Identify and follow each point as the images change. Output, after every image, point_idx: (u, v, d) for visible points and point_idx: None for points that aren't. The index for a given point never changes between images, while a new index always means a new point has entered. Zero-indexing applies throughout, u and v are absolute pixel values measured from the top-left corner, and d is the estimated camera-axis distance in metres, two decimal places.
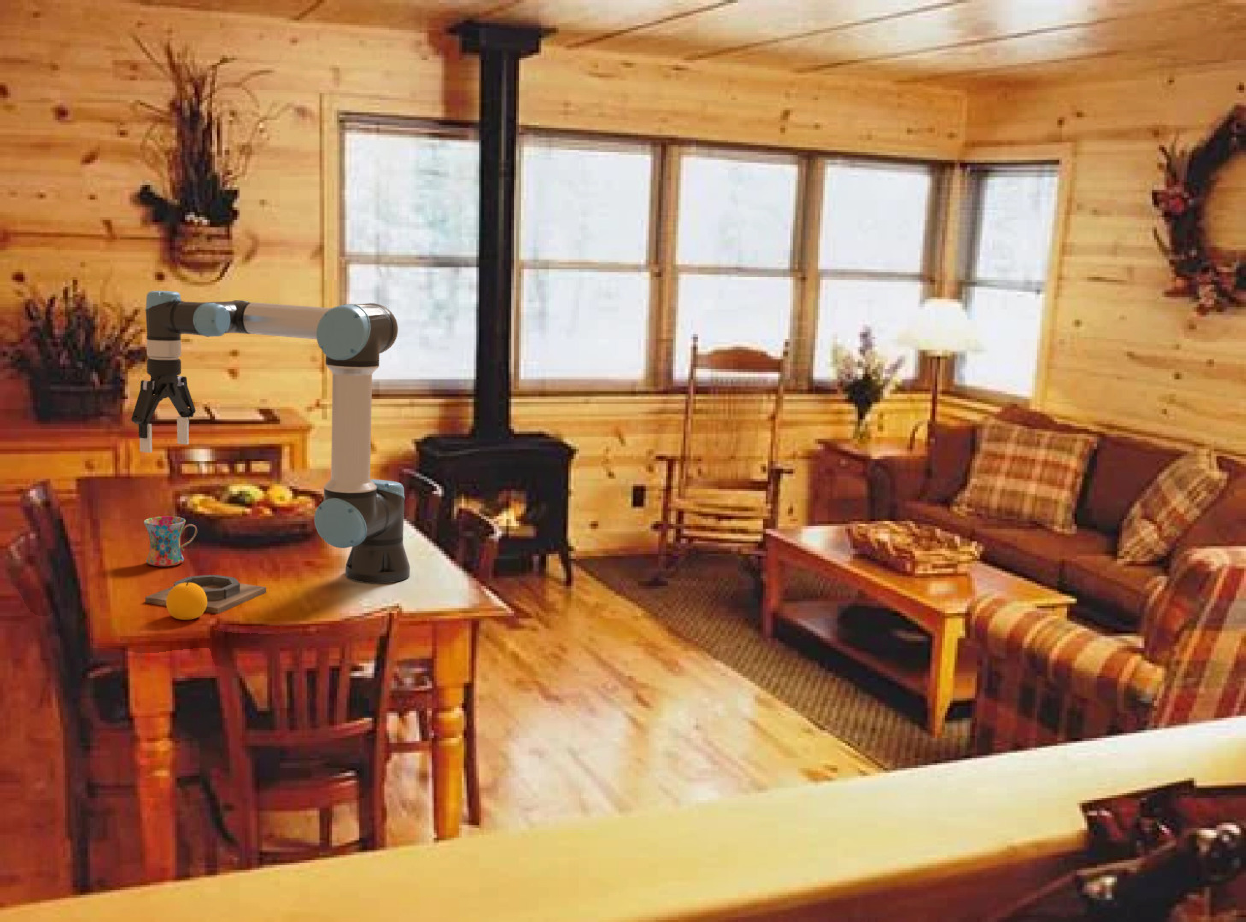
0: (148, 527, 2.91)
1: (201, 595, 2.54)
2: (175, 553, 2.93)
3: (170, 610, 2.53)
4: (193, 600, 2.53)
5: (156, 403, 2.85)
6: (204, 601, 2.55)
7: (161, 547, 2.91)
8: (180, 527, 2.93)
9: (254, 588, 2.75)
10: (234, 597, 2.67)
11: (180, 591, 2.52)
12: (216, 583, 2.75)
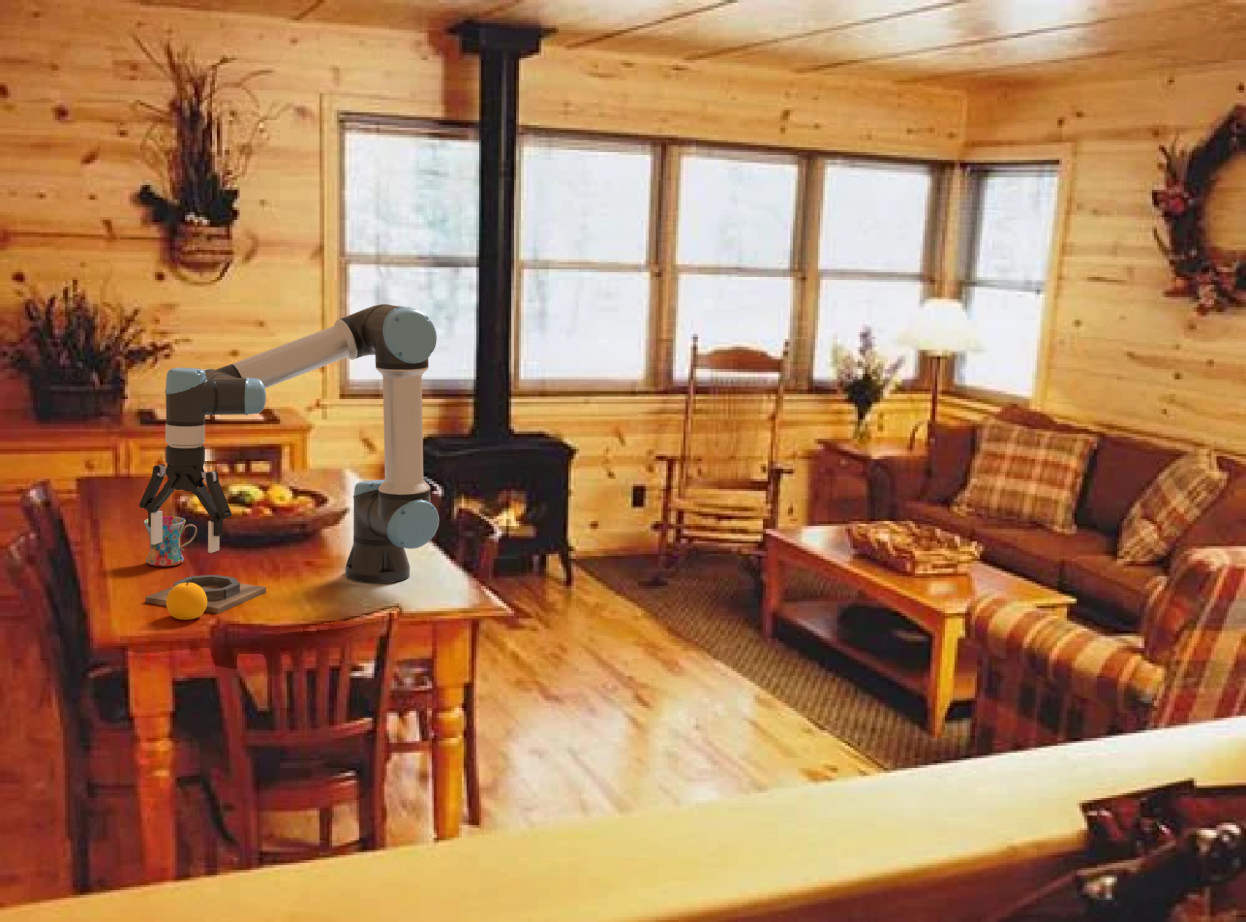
0: (148, 527, 2.91)
1: (201, 595, 2.54)
2: (175, 553, 2.93)
3: (170, 610, 2.53)
4: (193, 600, 2.53)
5: (162, 492, 2.52)
6: (204, 601, 2.55)
7: (161, 547, 2.91)
8: (180, 527, 2.93)
9: (254, 588, 2.75)
10: (234, 597, 2.67)
11: (180, 592, 2.52)
12: (216, 583, 2.75)
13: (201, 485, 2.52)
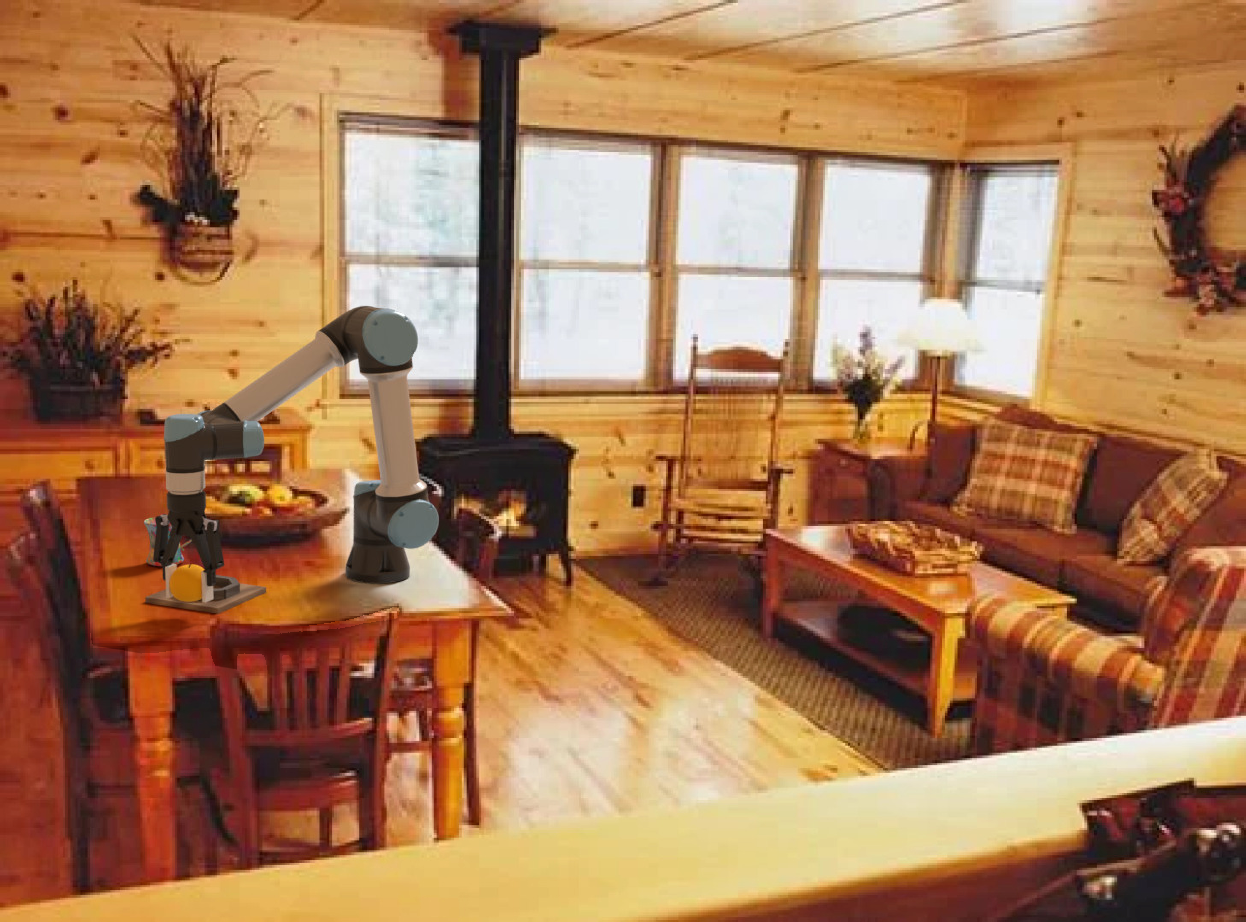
0: (148, 527, 2.91)
1: None
2: None
3: (173, 592, 2.53)
4: (196, 581, 2.52)
5: (170, 542, 2.53)
6: None
7: None
8: None
9: (254, 588, 2.75)
10: (234, 597, 2.67)
11: (183, 574, 2.52)
12: (216, 583, 2.75)
13: (201, 531, 2.54)
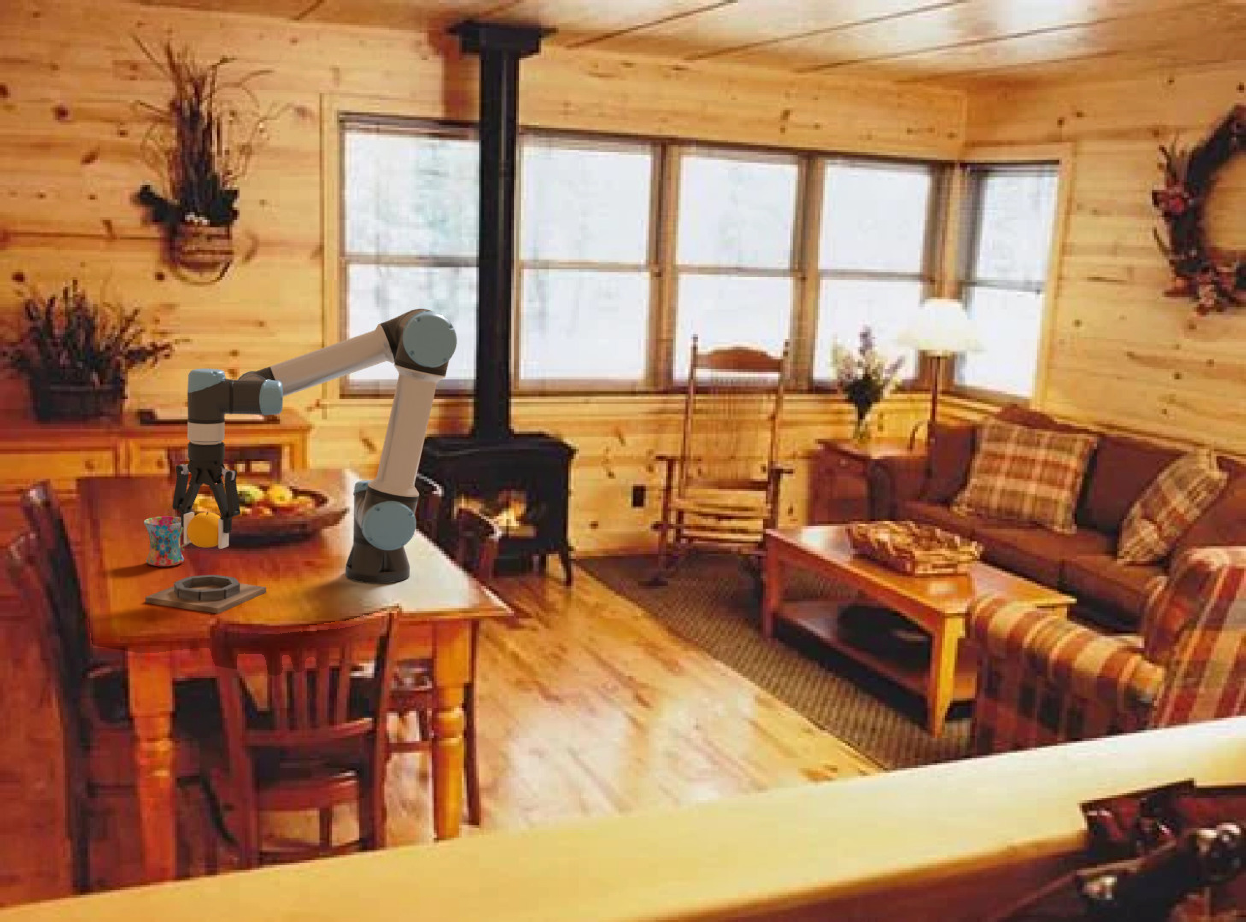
0: (148, 527, 2.91)
1: None
2: (175, 553, 2.93)
3: (191, 538, 2.66)
4: (213, 528, 2.65)
5: (190, 490, 2.66)
6: None
7: (161, 547, 2.91)
8: (180, 527, 2.93)
9: (254, 588, 2.75)
10: (234, 597, 2.67)
11: (201, 520, 2.65)
12: (216, 583, 2.75)
13: (219, 481, 2.67)
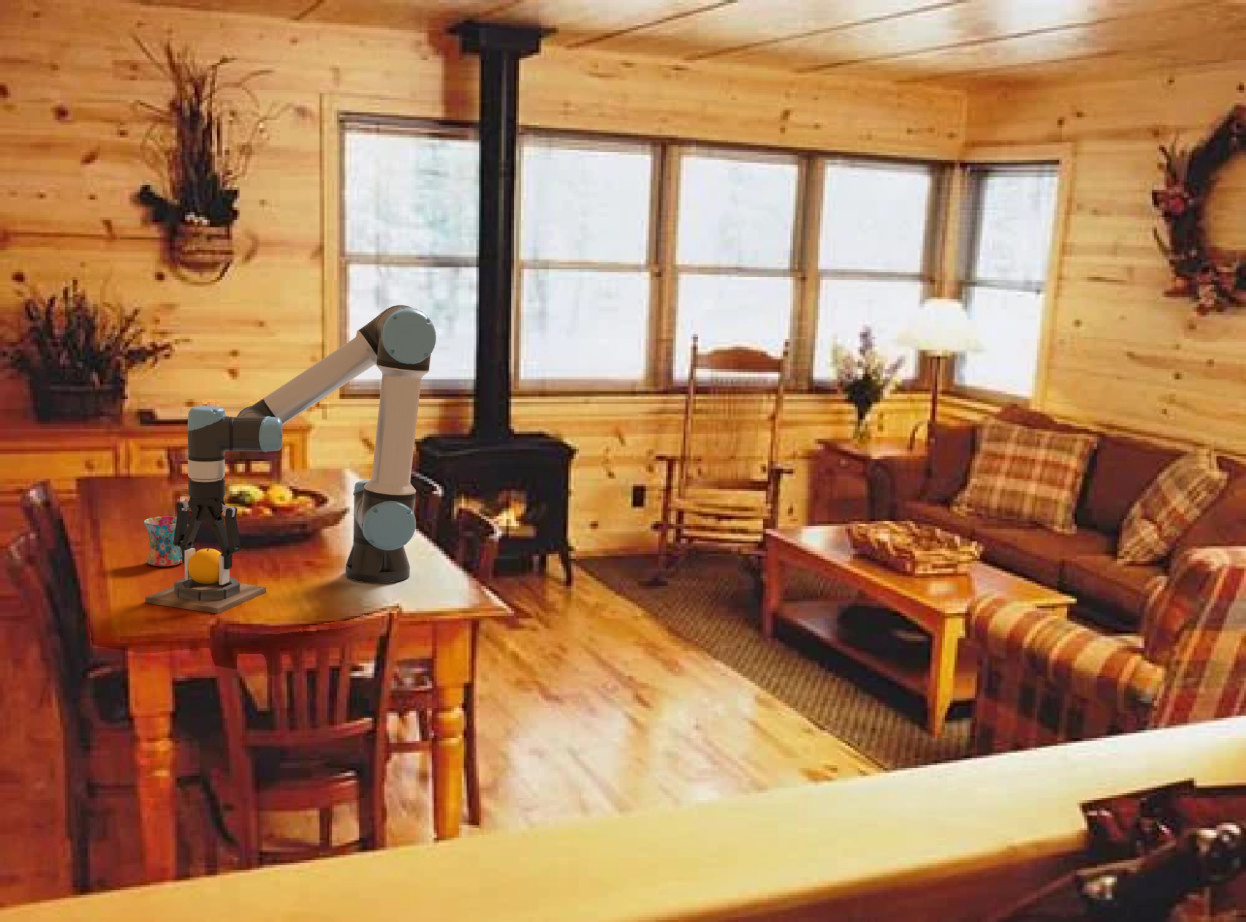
0: (148, 527, 2.91)
1: None
2: (175, 553, 2.93)
3: (192, 574, 2.67)
4: (214, 564, 2.67)
5: (190, 527, 2.68)
6: None
7: (161, 547, 2.91)
8: None
9: (254, 588, 2.75)
10: (234, 597, 2.67)
11: (202, 557, 2.67)
12: (216, 583, 2.75)
13: (219, 517, 2.68)
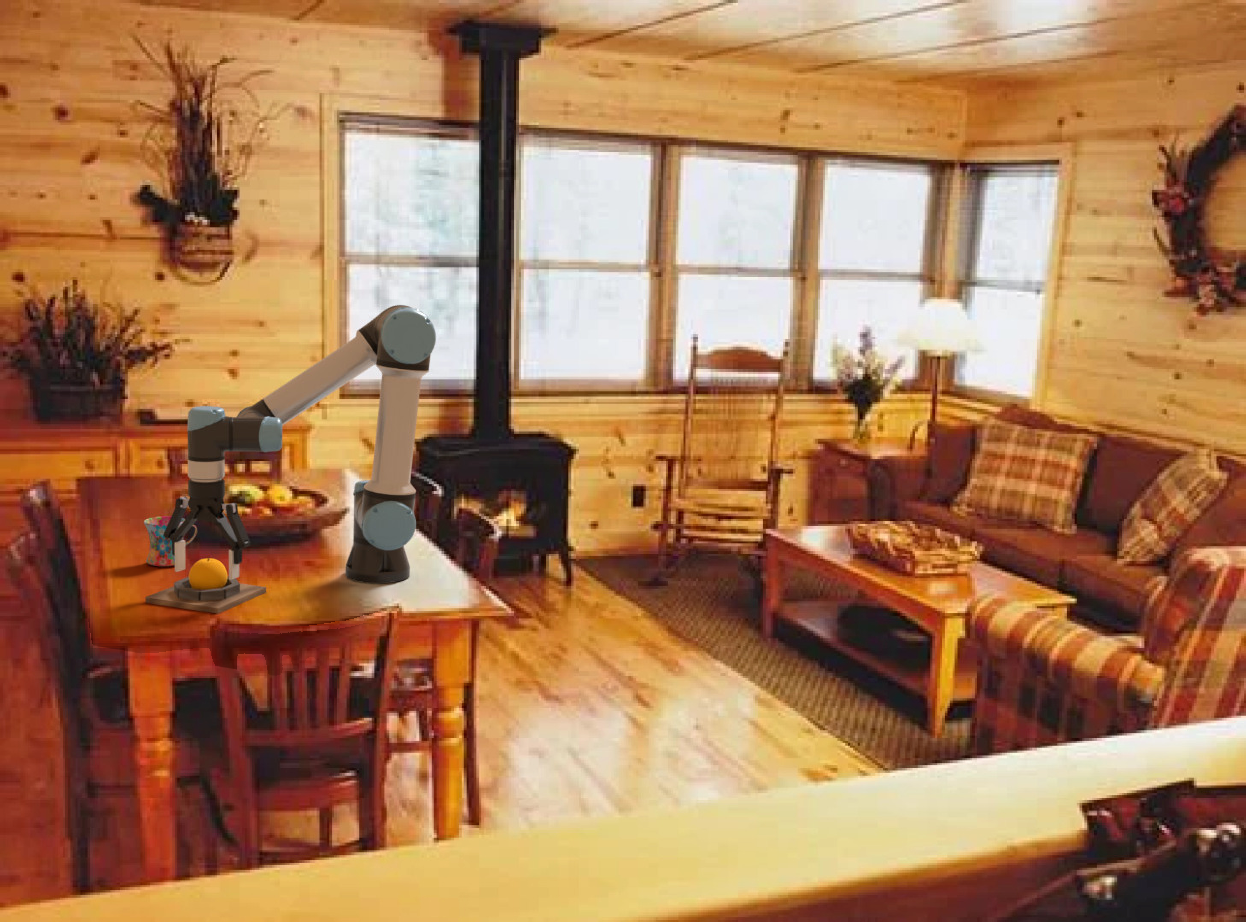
0: (148, 527, 2.91)
1: (222, 569, 2.69)
2: None
3: (193, 584, 2.67)
4: (215, 574, 2.67)
5: (185, 523, 2.68)
6: (224, 576, 2.69)
7: (161, 547, 2.91)
8: None
9: (254, 588, 2.75)
10: (234, 597, 2.67)
11: (202, 567, 2.67)
12: None
13: (221, 516, 2.68)
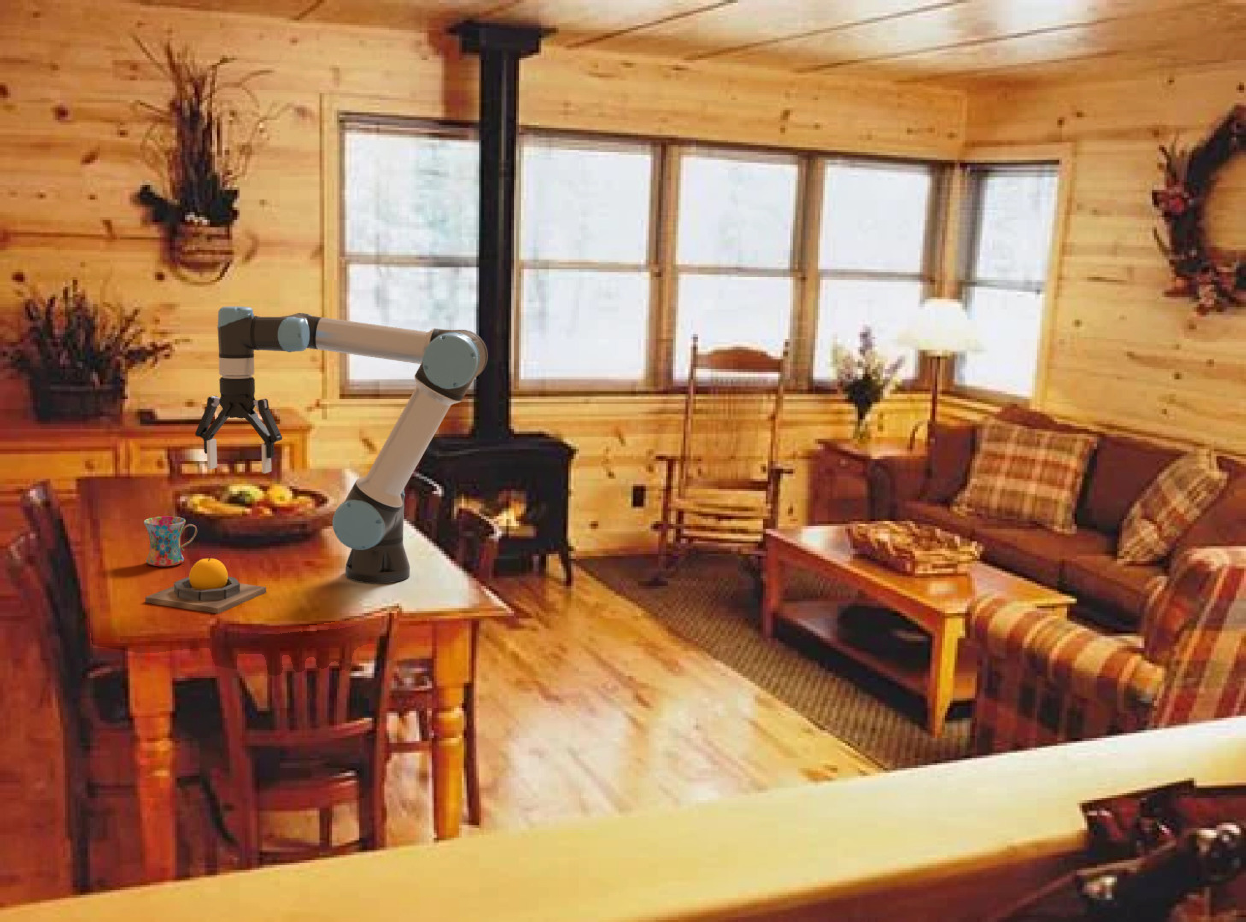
0: (148, 527, 2.91)
1: (223, 570, 2.69)
2: (175, 553, 2.93)
3: (193, 584, 2.67)
4: (215, 574, 2.67)
5: (217, 421, 2.77)
6: (225, 576, 2.70)
7: (161, 547, 2.91)
8: (180, 527, 2.93)
9: (254, 588, 2.75)
10: (234, 597, 2.67)
11: (203, 566, 2.67)
12: None
13: (252, 413, 2.77)
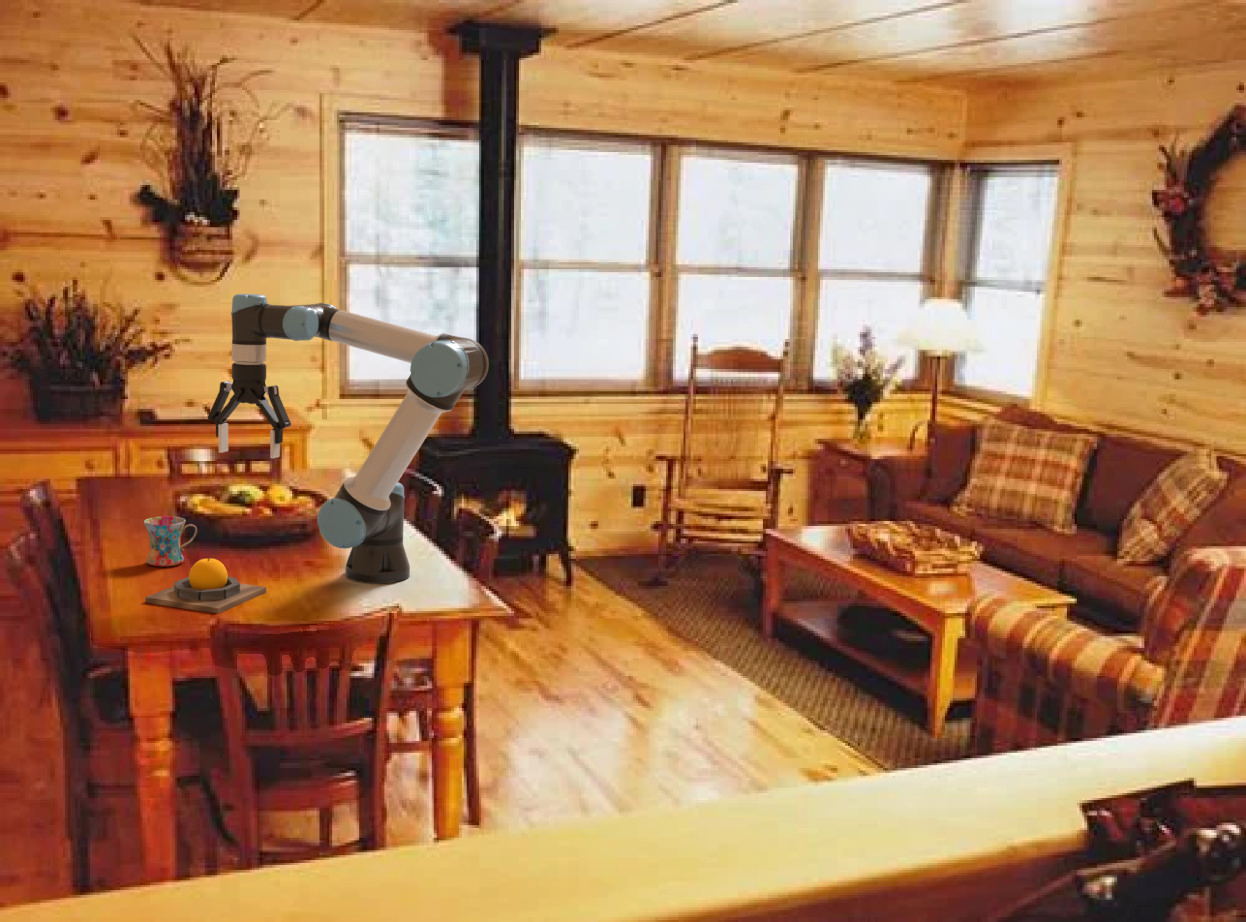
0: (148, 527, 2.91)
1: (222, 569, 2.69)
2: (175, 553, 2.93)
3: (193, 584, 2.67)
4: (215, 574, 2.67)
5: (229, 405, 2.83)
6: (225, 575, 2.70)
7: (161, 547, 2.91)
8: (180, 527, 2.93)
9: (254, 588, 2.75)
10: (234, 597, 2.67)
11: (203, 567, 2.67)
12: None
13: (263, 399, 2.82)
